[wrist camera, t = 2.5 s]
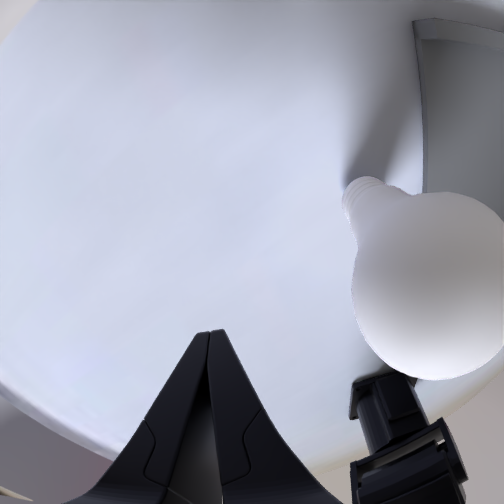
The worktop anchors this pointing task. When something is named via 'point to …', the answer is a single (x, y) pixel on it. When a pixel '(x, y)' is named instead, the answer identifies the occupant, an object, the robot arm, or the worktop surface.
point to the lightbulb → (426, 278)
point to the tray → (462, 109)
